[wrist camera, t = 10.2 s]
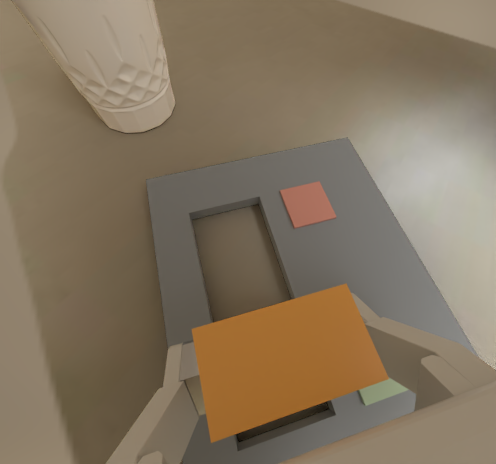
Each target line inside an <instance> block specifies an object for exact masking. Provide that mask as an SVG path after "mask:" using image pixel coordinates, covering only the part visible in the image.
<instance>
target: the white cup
mask: <svg viewBox="0 0 496 464" xmlns="http://www.w3.org/2000/svg"><path fill="white" fill-rule="evenodd" d="M11 1H12V2H13V4H14V5H15V6H16V8H17V9H18V10H19V12H20V13H21V14H22V16H23V17H24V19H25V20H26V21H27V23H28V24H29V25H30V27H31V28H32V29H33V31H34V32H35V34H36V35H37V36H38V38H39V39H40V40H41V42H42V43H43V45H44V46H45V47H46V49H47V50H48V51H49V53H50V54H51V56H52V57H53V58H54V60H55V61H56V62H57V64H58V65H59V66H60V68H61V69H62V70H63V72H64V73H65V74H66V75H67V77H68V78H69V79H70V80H71V82H72V83H73V84H74V86H75V87H76V88H77V90H78V91H79V92H80V94H81V95H82V96H83V97H85V98H86V100H87V101H88V103H89V104H90V105H91V107H92V108H93V110H94V111H95V112H96V114H97V115H98V117H99V118H100V119H101V120H102V121H103V122H104V123H105V124H106V125H107V126H108V127H109V128H111V129H114V130H117V131H120V132H123V133H137V132H145V131H148V130H150V129H153V128H155V127H158V126H160V125H161V124H162V123H163V122H164V121H166V120H167V119H168V118H169V117H170V116H171V114H172V112H173V109H174V106H175V99H174V95H173V91H172V87H171V83H170V77H169V73H168V63H167V58H166V53H165V48H164V43H163V38H162V34H161V30H160V25H159V21H158V17H157V12H156V8H155V4H154V0H11Z"/></svg>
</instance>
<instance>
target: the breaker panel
mask: <svg viewBox="0 0 496 464" xmlns="http://www.w3.org/2000/svg"><path fill="white" fill-rule="evenodd" d="M146 185H147V192H148V200H149V208H150V215H151V223H152V231H153V238H154V246H155V254H156V261H157V269H158V277H159V284H160V292H161V300H162V307H163V315H164V323H165V330H166V338H167V346H168V349H169V347H170V346H173V345H177V344H181V343H183V342H187V341H190V340H193V335H192V329H193V328H197V327H200V326H203V325H207V324H210V323H213V320H212V315H211V310H210V305H209V300H208V295H207V291H206V286H205V281H204V276H203V271H202V267H201V262H200V257H199V252H198V247H197V242H196V238H195V233H194V228H193V223H192V219H197V218H201V217H205V216H209V215H213V214H218V213H222V212H226V211H230V210H235V209H239V208H243V207H247V206H252V205H256V204H259V206H260V209H261V212H262V215H263V218H264V221H265V224H266V227H267V230H268V233H269V235H270V238H271V241H272V244H273V247H274V250H275V253H276V256H277V259H278V262H279V264H280V267H281V270H282V273H283V276H284V279H285V282H286V285H287V288H288V291H289V293H290V296H291V299H295V298H298V297H302V296H305V295H309V294H312V293H315V292H319V291H322V290H326V289H329V288H332V287H336V286H339V285H342V284H346V283H347V286H348V288H349V290H350V292H351V293H354V294H355V295H356V296H357V297H358V298H359V299H360V300H361V301H363V302H364V303H365V304H366V305H367V306H368V307H369V308H370V309H371V310H372V311H373V312H374V313H376V314H377V315H378V316H379V317H380V318H382V317H385V318H388V319H391V320H394V321H397V322H400V323H402V324H405V325H408V326H411V327H414V328H417V329H420V330H422V331H425V332H428V333H431V334H434V335H437V336H439V337H442V338H445V339H448V340H451V341H454V342H457V343H459V344H461V345H463V346H464V347H465V348H467V349H468V350H469V351H471V352H472V353H473V354H475V355H476V356H477V357H478V355H477V353H476V352H475V350H474V348H473V347H472V345H471V343H470V342H469V340H468V338H467V337H466V335H465V333H464V332H463V330H462V328H461V327H460V325H459V323H458V322H457V320H456V318H455V317H454V315H453V313H452V311H451V310H450V308H449V306H448V305H447V303H446V301H445V300H444V298H443V296H442V295H441V293H440V291H439V290H438V288H437V286H436V285H435V283H434V281H433V280H432V278H431V276H430V275H429V273H428V271H427V270H426V268H425V266H424V265H423V263H422V261H421V259H420V258H419V256H418V254H417V253H416V251H415V249H414V248H413V246H412V244H411V243H410V241H409V239H408V238H407V236H406V234H405V233H404V231H403V229H402V228H401V226H400V224H399V223H398V221H397V219H396V218H395V216H394V214H393V213H392V211H391V209H390V207H389V206H388V204H387V202H386V201H385V199H384V197H383V196H382V194H381V192H380V191H379V189H378V187H377V186H376V184H375V182H374V181H373V179H372V177H371V176H370V174H369V172H368V171H367V169H366V167H365V166H364V164H363V162H362V161H361V159H360V157H359V155H358V154H357V152H356V150H355V149H354V147H353V145H352V144H351V142H350V140H349V139H348V137H347V138H342V139H338V140H333V141H328V142H323V143H319V144H314V145H309V146H304V147H299V148H295V149H290V150H285V151H280V152H275V153H271V154H266V155H261V156H256V157H251V158H247V159H242V160H237V161H232V162H228V163H223V164H218V165H213V166H208V167H204V168H199V169H194V170H189V171H184V172H180V173H175V174H170V175H165V176H160V177H156V178H151V179H146ZM415 400H416V394H415V393H414V392H412V391H410V390H409V389H407V388H405V387H404V386H402V385H401V384H399V383H397V382H396V381H394V380H393V379H391V378H389V379H388V380H385V381H382V382H379V383H377V384H374V385H371V386H368V387H365V388H363V389H360V390H357V391H354V392H352V393H349V394H346V395H343V396H340V397H338V398H335V399H332V400H329V401H327V404H328V407H329V410H326V411H323V412H320V413H318V414H315V415H312V416H309V417H307V418H304V419H301V420H298V421H296V422H293V423H290V424H287V425H285V426H282V427H279V428H276V429H274V430H271V431H268V432H266V433H263V434H260V435H257V436H255V437H252V438H249V439H246V440H244V441H241V442H238V440H237V435H236V434H235V435H232V436H229V437H227V438H224V439H221V440H218V441H216V442H213V443H211V440H210V434H209V428H208V422H207V416H206V414H203V415H200V416H198V417H199V419H198V421H197V424H196V426H195V429H194V431H193V434H192V436H191V438H190V441H189V443H188V446H187V448H186V451H185V453H184V455H183V458H182V461H183V464H278V463H280V462H283V461H286V460H288V459H291V458H293V457H296V456H299V455H301V454H304V453H307V452H309V451H312V450H314V449H317V448H320V447H322V446H325V445H327V444H330V443H333V442H335V441H338V440H341V439H343V438H346V437H348V436H351V435H354V434H356V433H359V432H362V431H364V430H367V429H369V428H372V427H375V426H377V425H380V424H383V423H385V422H388V421H391V420H393V419H396V418H398V417H401V416H404V415H406V414H409V413H412V412H414V408H415Z"/></svg>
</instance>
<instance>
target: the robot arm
mask: <svg viewBox="0 0 496 464" xmlns="http://www.w3.org/2000/svg"><path fill="white" fill-rule="evenodd" d="M351 295H352V297H353V299H354V301H355V304H356V306H357V308H358V310H359V312H360V315H361V317H362V319H363V321H364V324H365V326H366V328H367V330H368V333H369V335H370V337H371V339H372V342H373V344H374V346H375V348H376V351H377V353H378V355H379V357H380V359H381V362H382V364H383V366H384V368H385V371H386V373H387V375H388V377H389V378H391V379H393V380H394V381H396V382H397V383H399V384H401V385H402V386H404V387H405V388H407V389H409V390H410V391H412V392H414V393H415V394H416V400H415V408H414V412H412V413H409V414H406V415H404V416H401V417H398V418H396V419H393V420H391V421H388V422H385V423H383V424H380V425H377V426H375V427H372V428H369V429H367V430H364V431H362V432H359V433H356V434H354V435H351V436H348V437H346V438H343V439H341V440H338V441H335V442H333V443H330V444H327V445H325V446H322V447H320V448H317V449H314V450H312V451H309V452H307V453H304V454H301V455H299V456H296V457H293V458H291V459H288V460H286V461H283V462H280V463H278V464H496V370H495V369H493V368H492V367H491V366H489V365H488V364H487V363H485V362H484V361H483V360H481V359H480V358H479V357H477V356H476V355H475V354H473V353H472V352H471V351H469V350H468V349H467V348H465V347H464V346H463V345H461V344H459V343H457V342H454V341H451V340H448V339H445V338H442V337H439V336H437V335H434V334H431V333H428V332H425V331H422V330H420V329H417V328H414V327H411V326H408V325H405V324H402V323H400V322H397V321H394V320H391V319H388V318H385V317H382V318H380V317H379V316H378V315H377V314H376V313H374V312H373V311H372V310H371V309H370V308H369V307H368V306H367V305H366V304H365V303H364V302H363V301H361V300H360V299H359V298H358V297H357V296H356V295H355V294H354V293H351ZM203 414H206V411H205V405H204V399H203V393H202V387H201V381H200V376H199V370H198V364H197V358H196V352H195V346H194V341H193V340H190V341H187V342H183V343H181V344H177V345H173V346H170V347H169V349H168V353H167V360H166V367H165V374H164V382H163V387H162V388H159V389H158V390H157V391H156V393H155V394H154V396H153V397H152V398H151V400H150V401H149V403H148V404H147V406H146V407H145V408H144V410H143V411H142V413H141V414H140V415H139V417H138V418H137V420H136V421H135V423H134V424H133V425H132V427H131V428H130V430H129V431H128V433H127V434H126V435H125V437H124V438H123V440H122V441H121V442H120V444H119V445H118V447H117V448H116V450H115V451H114V452H113V454H112V455H111V457H110V458H109V460H108V461H107V462H106V464H180V463H181V460H182V458H183V455H184V453H185V451H186V448H187V446H188V443H189V441H190V438H191V436H192V434H193V431H194V429H195V426H196V424H197V421H198V419H199V417H198V416H200V415H203Z"/></svg>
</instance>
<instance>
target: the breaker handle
mask: <svg viewBox="0 0 496 464" xmlns="http://www.w3.org/2000/svg"><path fill="white" fill-rule="evenodd" d="M192 335H193V341H194V346H195V352H196V358H197V364H198V370H199V376H200V381H201V387H202V393H203V399H204V405H205V411H206V416H207V422H208V428H209V434H210V440H211V443H213V442H216V441H218V440H221V439H224V438H227V437H229V436H232V435H235V434H238V433H241V432H243V431H246V430H249V429H252V428H254V427H257V426H260V425H263V424H266V423H268V422H271V421H274V420H277V419H279V418H282V417H285V416H288V415H290V414H293V413H296V412H299V411H302V410H304V409H307V408H310V407H313V406H315V405H318V404H321V403H324V402H327V401H329V400H332V399H335V398H338V397H340V396H343V395H346V394H349V393H352V392H354V391H357V390H360V389H363V388H365V387H368V386H371V385H374V384H377V383H379V382H382V381H385V380H388V379H389V377H388V375H387V373H386V371H385V368H384V366H383V364H382V362H381V359H380V357H379V355H378V353H377V351H376V348H375V346H374V344H373V342H372V339H371V337H370V335H369V333H368V330H367V328H366V326H365V324H364V321H363V319H362V317H361V315H360V312H359V310H358V308H357V306H356V304H355V301H354V299H353V297H352V295H351V292H350V290H349V288H348V286H347V283H346V284H342V285H339V286H336V287H332V288H329V289H326V290H322V291H319V292H315V293H312V294H309V295H305V296H302V297H298V298H295V299H292V300H288V301H285V302H281V303H278V304H275V305H271V306H268V307H264V308H261V309H258V310H254V311H251V312H247V313H244V314H241V315H237V316H234V317H231V318H227V319H224V320H220V321H217V322H214V323H210V324H207V325H203V326H200V327H197V328H193V329H192Z"/></svg>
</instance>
